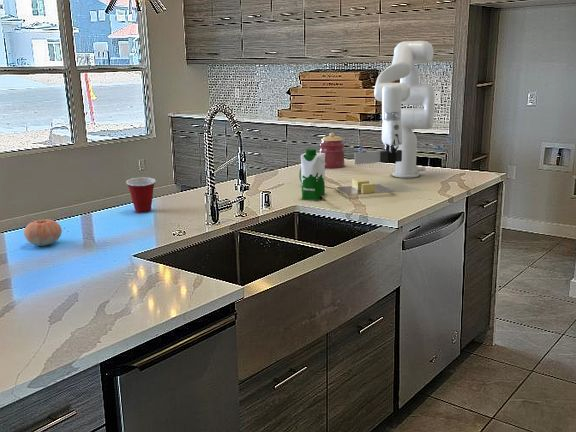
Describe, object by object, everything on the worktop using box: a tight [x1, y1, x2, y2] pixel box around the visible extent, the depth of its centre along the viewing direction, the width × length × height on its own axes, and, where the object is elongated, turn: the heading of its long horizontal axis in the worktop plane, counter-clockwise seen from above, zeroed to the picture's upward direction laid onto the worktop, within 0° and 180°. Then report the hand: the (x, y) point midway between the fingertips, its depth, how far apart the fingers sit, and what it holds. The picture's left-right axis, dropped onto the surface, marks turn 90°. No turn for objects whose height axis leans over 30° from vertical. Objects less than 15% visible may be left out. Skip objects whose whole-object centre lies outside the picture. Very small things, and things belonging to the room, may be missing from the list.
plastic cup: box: [125, 176, 157, 214], centre depth 221 cm, size 11×11×12 cm
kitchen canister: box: [319, 131, 346, 169], centre depth 306 cm, size 13×13×18 cm
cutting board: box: [335, 183, 396, 196], centre depth 245 cm, size 20×16×2 cm
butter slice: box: [362, 182, 376, 194], centre depth 239 cm, size 5×2×4 cm, turn 105°
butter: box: [351, 177, 370, 190], centre depth 247 cm, size 5×7×4 cm
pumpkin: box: [23, 218, 63, 247], centre depth 183 cm, size 11×11×8 cm
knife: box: [354, 150, 402, 165], centre depth 238 cm, size 20×2×4 cm, turn 105°
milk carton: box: [300, 148, 326, 201], centre depth 235 cm, size 9×9×20 cm
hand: (390, 161), depth 240 cm, fingers closed on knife, 2 cm apart
